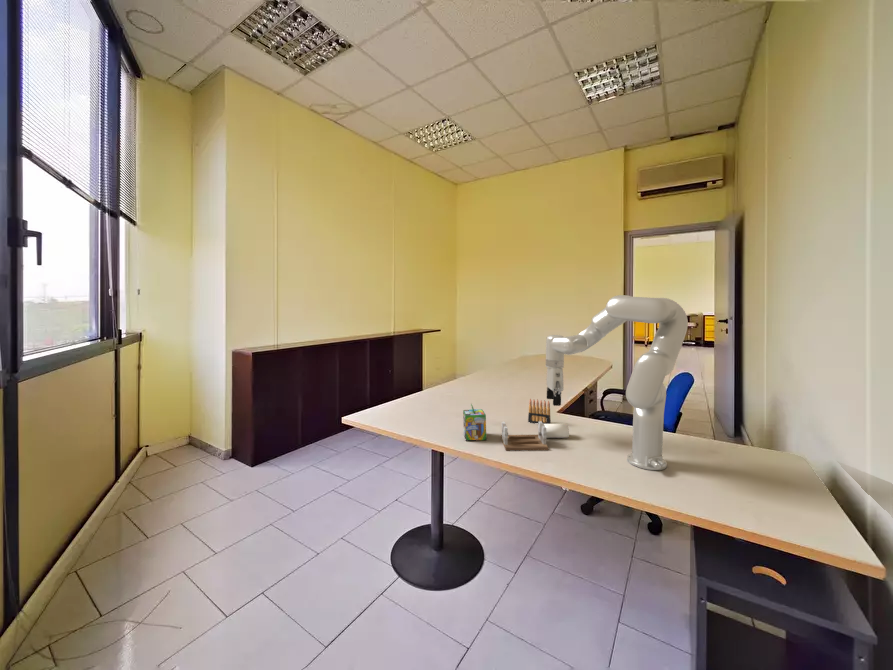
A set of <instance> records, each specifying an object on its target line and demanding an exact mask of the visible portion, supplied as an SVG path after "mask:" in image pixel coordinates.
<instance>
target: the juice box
mask: <svg viewBox="0 0 893 670" xmlns="http://www.w3.org/2000/svg"><path fill="white" fill-rule="evenodd" d="M470 406H471V408H470V409H463V410H462V411H463V412H462V413H463V415H462V416H463V418H462V419H463V420H462V421H463V436H464V439H466V440H476V441H487V415H486V413H485V411H484V410H483V409H481V408H479V409H477V408H476V409H475V408H474V406H473V403H470ZM466 440H465V441H466Z"/></svg>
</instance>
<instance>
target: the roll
mask: <svg viewBox="0 0 893 670" xmlns="http://www.w3.org/2000/svg"><path fill="white" fill-rule="evenodd" d="M544 425H545V427H546V439H555V438H556V439H561V438H562V439H567V438H569V435H570V428H569V425H568V424H567V423H551V424H544Z"/></svg>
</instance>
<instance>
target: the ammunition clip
mask: <svg viewBox="0 0 893 670" xmlns="http://www.w3.org/2000/svg"><path fill="white" fill-rule="evenodd" d="M528 403H529V404H528V416H527V423H528V422H530V424H535V423H538V422H539V421H541V422H542V423H543V424H552V423H551V405H550V404H551V403H550V400H547V402H546V399H545V400H544V401H543V400H542V399H540V402H539V399H538V398H537V399H536V401H535V399H533V400H532V398H530V399H529V402H528Z"/></svg>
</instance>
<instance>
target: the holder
mask: <svg viewBox="0 0 893 670" xmlns="http://www.w3.org/2000/svg"><path fill="white" fill-rule="evenodd" d="M537 426H538V427H537V428H538V432H537V433H538V434H509V431H508V426H507V424H506V422H505V421H501V434H500V440H501V441H502V445H503V446H504V450H505V452H507V451H509V452H510V450H515V452H517V451H516V450H519V451H520V450H528V451H549V447H548V445H547V438H546V427H545V425H544V424H543V423H542V422H541V421H539V422H538V424H537ZM519 451H518V452H519Z"/></svg>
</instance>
